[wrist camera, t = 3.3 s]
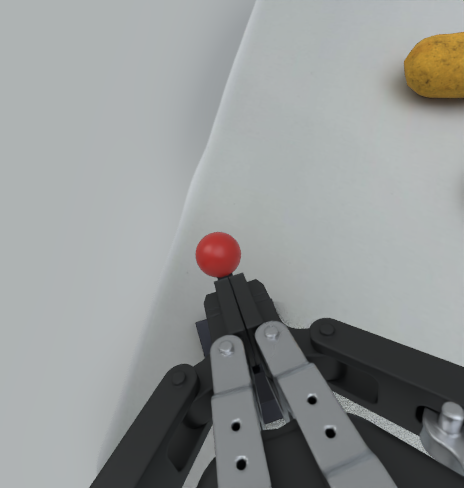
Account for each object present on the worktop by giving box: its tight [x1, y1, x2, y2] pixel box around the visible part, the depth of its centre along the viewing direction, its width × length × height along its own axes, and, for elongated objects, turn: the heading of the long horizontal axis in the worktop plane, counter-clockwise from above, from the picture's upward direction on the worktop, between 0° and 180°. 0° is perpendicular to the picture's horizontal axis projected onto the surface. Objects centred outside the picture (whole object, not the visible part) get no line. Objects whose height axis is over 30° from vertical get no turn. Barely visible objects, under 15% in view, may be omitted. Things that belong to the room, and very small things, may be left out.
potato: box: [404, 32, 464, 98], centre depth 40 cm, size 7×14×7 cm, turn 87°
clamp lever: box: [196, 232, 275, 404], centre depth 24 cm, size 14×3×3 cm, turn 17°
